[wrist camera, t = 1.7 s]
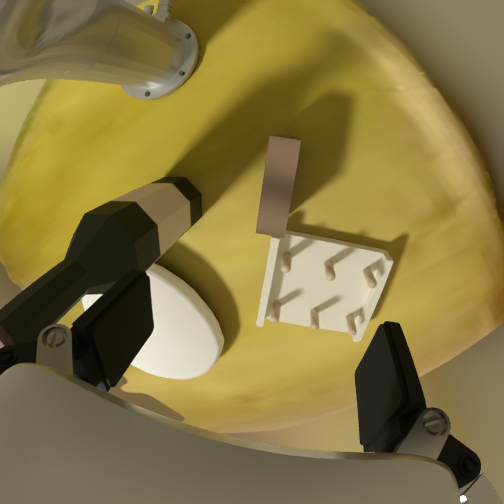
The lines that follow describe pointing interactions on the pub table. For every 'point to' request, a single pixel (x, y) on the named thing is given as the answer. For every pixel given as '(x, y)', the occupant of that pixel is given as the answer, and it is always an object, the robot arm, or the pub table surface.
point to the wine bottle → (104, 254)
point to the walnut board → (278, 185)
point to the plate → (176, 329)
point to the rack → (322, 283)
